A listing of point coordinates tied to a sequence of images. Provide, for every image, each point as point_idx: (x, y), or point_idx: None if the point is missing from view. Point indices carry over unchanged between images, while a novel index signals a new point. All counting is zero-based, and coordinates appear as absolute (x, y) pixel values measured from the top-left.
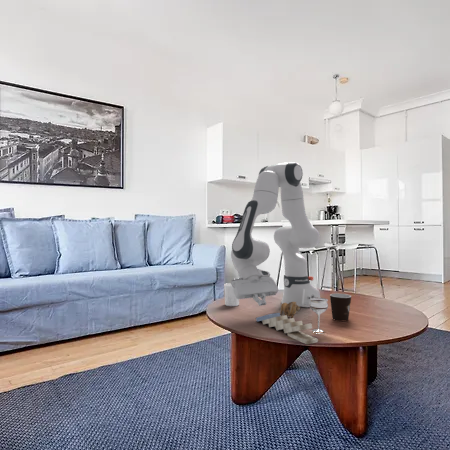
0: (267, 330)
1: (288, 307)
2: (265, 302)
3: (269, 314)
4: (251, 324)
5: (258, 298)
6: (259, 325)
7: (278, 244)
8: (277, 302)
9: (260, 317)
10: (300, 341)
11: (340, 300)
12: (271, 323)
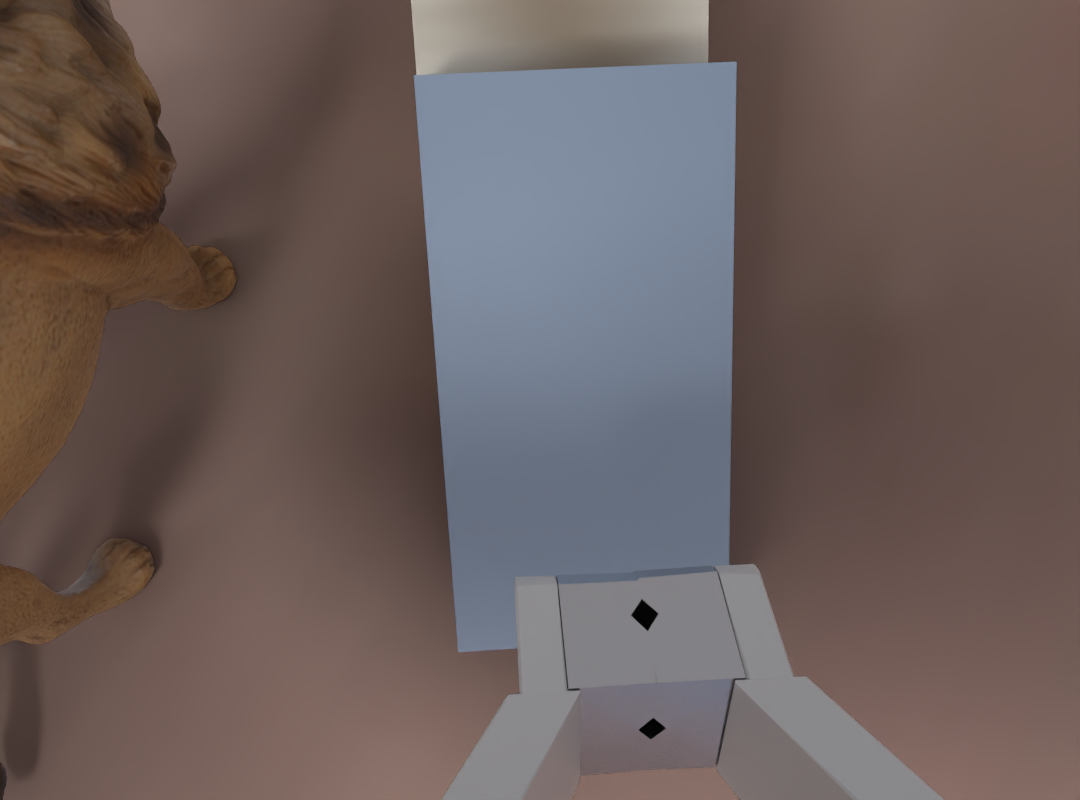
0: (798, 45)
1: (76, 35)
2: (550, 584)
3: (732, 62)
4: (892, 470)
5: (818, 737)
6: (782, 352)
7: None
8: None
9: (727, 455)
10: None
11: None
12: None
